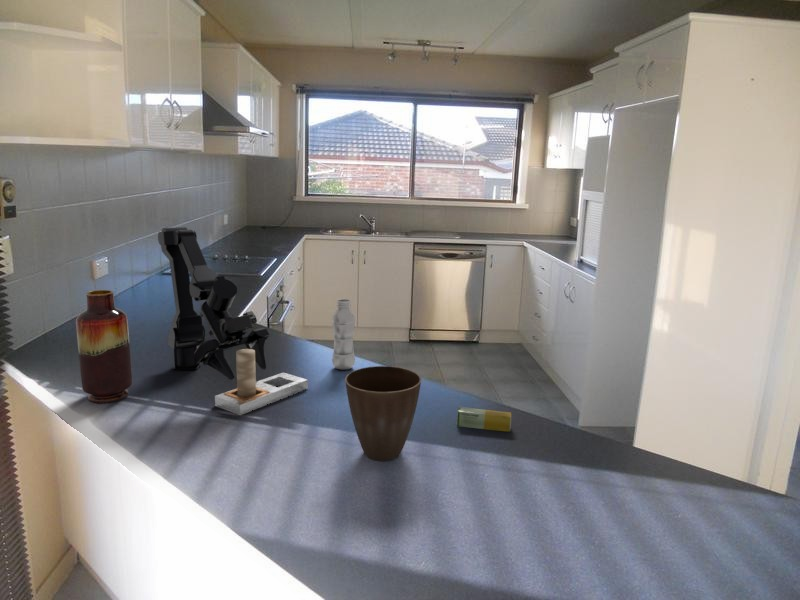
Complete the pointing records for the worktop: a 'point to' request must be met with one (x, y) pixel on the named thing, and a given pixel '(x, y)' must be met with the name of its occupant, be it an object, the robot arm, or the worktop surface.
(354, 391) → the plant pot
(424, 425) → the worktop surface
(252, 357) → the maple peg
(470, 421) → the medication box
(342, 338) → the plastic bottle
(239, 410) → the white peg board
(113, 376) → the vase
